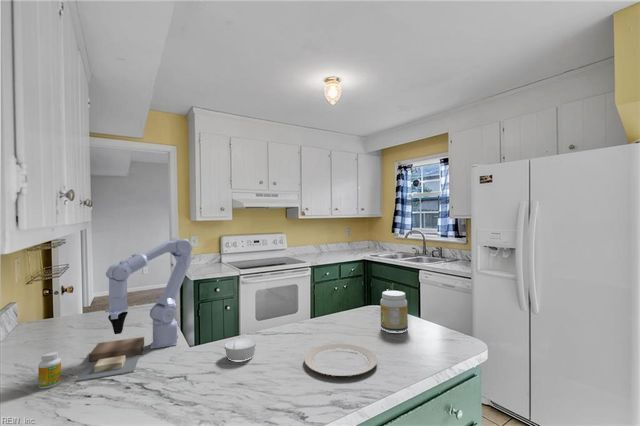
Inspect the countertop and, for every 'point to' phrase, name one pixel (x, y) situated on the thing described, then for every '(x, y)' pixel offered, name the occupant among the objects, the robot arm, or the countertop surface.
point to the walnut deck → (117, 349)
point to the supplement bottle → (49, 370)
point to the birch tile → (109, 364)
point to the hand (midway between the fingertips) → (118, 333)
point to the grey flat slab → (89, 370)
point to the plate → (366, 352)
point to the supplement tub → (394, 311)
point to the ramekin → (240, 348)
